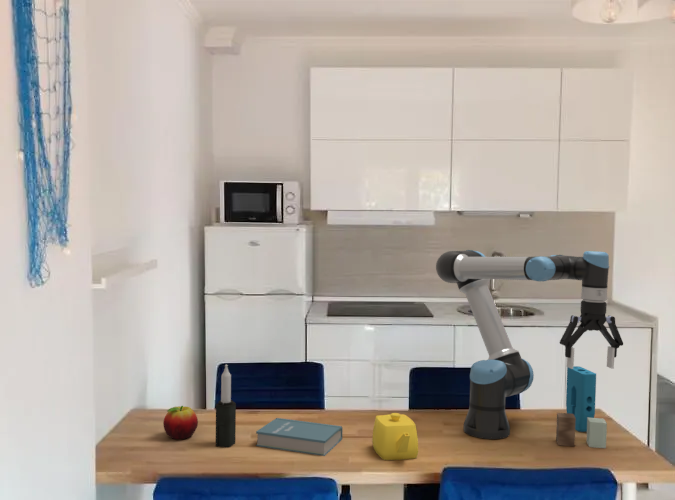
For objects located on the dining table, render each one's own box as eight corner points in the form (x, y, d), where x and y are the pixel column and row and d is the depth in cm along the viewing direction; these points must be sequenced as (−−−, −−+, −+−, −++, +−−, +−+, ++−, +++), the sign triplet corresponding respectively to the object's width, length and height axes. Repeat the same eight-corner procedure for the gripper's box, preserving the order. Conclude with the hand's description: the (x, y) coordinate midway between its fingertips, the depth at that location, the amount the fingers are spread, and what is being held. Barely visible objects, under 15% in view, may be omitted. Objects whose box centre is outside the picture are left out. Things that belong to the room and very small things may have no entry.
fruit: (204, 436, 209) (204, 405, 208) (175, 444, 201) (175, 412, 200) (185, 428, 216) (185, 399, 216) (156, 436, 208) (156, 405, 208)
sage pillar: (589, 447, 206) (590, 421, 205) (586, 441, 210) (587, 417, 210) (605, 448, 205) (606, 423, 204) (602, 443, 209) (603, 418, 209)
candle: (236, 442, 203) (237, 363, 202) (228, 448, 199) (229, 366, 198) (222, 440, 205) (223, 362, 204) (214, 445, 200) (214, 365, 199)
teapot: (426, 464, 188) (427, 424, 188) (385, 466, 186) (386, 426, 185) (404, 441, 208) (405, 404, 208) (367, 443, 205) (368, 406, 205)
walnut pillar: (558, 445, 207) (558, 417, 206) (556, 440, 211) (556, 412, 211) (574, 446, 206) (575, 418, 205) (572, 441, 210) (573, 413, 210)
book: (256, 447, 201) (256, 431, 201) (277, 431, 216) (278, 417, 216) (324, 457, 194) (324, 440, 193) (342, 440, 209) (342, 425, 208)
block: (595, 433, 219) (597, 374, 219) (581, 433, 219) (583, 374, 218) (577, 422, 231) (579, 366, 230) (564, 422, 231) (566, 366, 230)
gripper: (562, 302, 198) (558, 370, 199) (637, 302, 202) (633, 370, 203) (550, 298, 206) (547, 365, 207) (623, 299, 209) (619, 364, 211)
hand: (590, 367), depth 205 cm, fingers open, 13 cm apart
